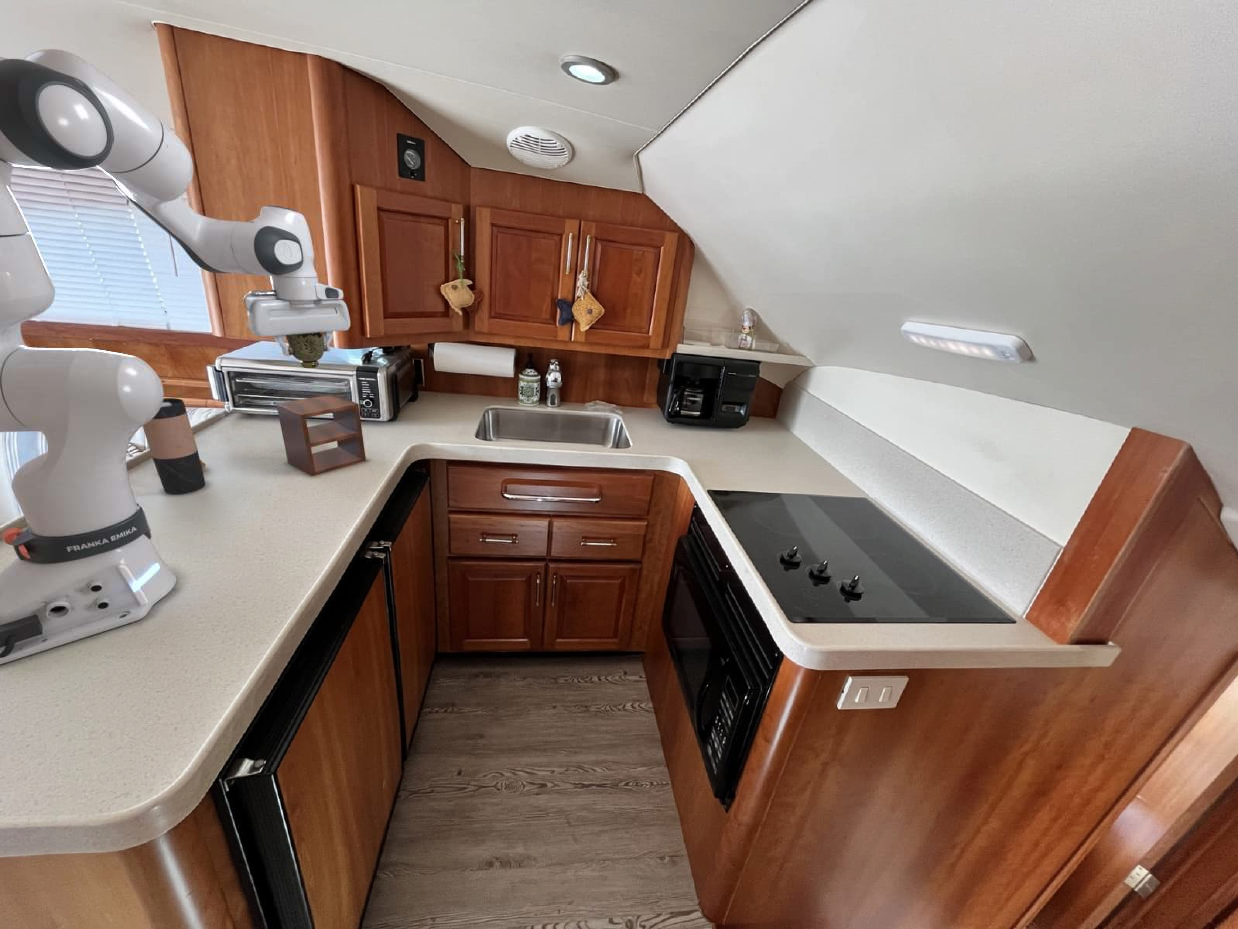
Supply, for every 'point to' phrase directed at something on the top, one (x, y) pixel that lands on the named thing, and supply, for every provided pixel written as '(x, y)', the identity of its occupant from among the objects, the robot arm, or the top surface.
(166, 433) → the travel mug
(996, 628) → the top surface
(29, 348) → the robot arm
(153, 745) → the top surface
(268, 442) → the top surface
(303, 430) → the shelf
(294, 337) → the cup
